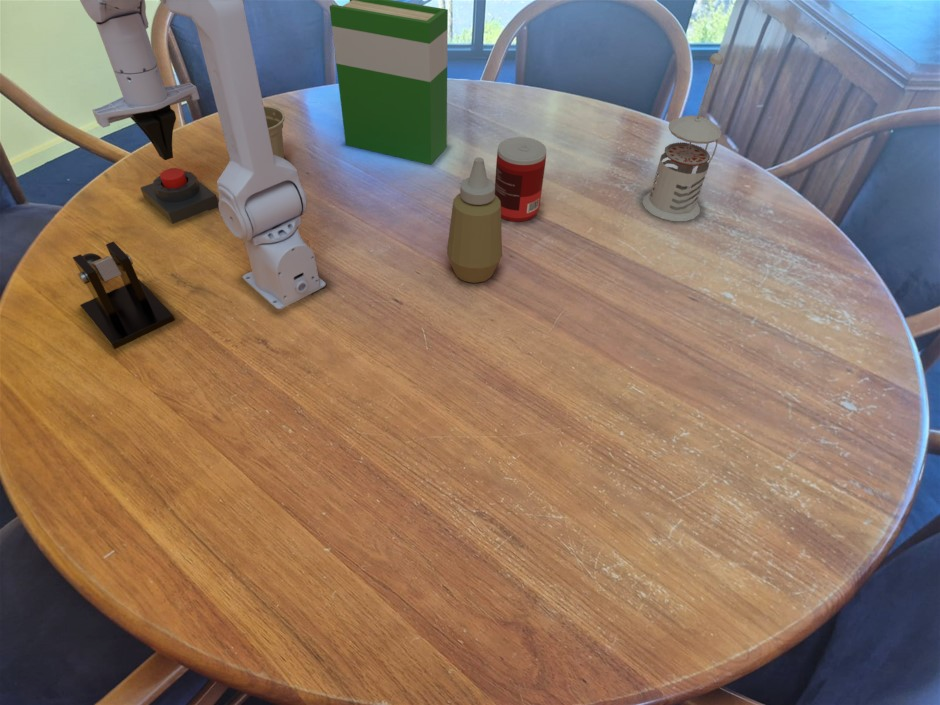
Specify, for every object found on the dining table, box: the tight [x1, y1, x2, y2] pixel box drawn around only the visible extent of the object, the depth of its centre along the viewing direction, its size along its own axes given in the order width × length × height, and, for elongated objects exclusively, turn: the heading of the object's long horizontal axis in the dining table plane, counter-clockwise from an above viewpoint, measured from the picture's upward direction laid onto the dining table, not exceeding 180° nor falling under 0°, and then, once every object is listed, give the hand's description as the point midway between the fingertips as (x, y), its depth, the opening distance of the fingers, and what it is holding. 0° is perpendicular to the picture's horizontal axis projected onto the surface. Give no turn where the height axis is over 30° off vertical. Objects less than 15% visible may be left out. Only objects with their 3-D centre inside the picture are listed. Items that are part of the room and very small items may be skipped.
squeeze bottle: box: [446, 157, 503, 283], centre depth 85 cm, size 8×8×18 cm
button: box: [159, 167, 187, 188], centre depth 99 cm, size 4×4×2 cm
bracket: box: [72, 241, 176, 350], centre depth 79 cm, size 10×8×10 cm
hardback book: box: [329, 0, 449, 166], centre depth 109 cm, size 18×7×24 cm, turn 69°
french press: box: [641, 52, 724, 222], centre depth 98 cm, size 10×12×25 cm
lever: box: [82, 252, 122, 283], centre depth 81 cm, size 13×3×3 cm, turn 45°
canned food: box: [494, 136, 547, 223], centre depth 100 cm, size 8×8×11 cm
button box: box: [140, 170, 219, 225], centre depth 100 cm, size 10×8×4 cm
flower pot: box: [263, 105, 286, 159], centre depth 108 cm, size 9×9×9 cm
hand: (166, 156), depth 96 cm, fingers closed
